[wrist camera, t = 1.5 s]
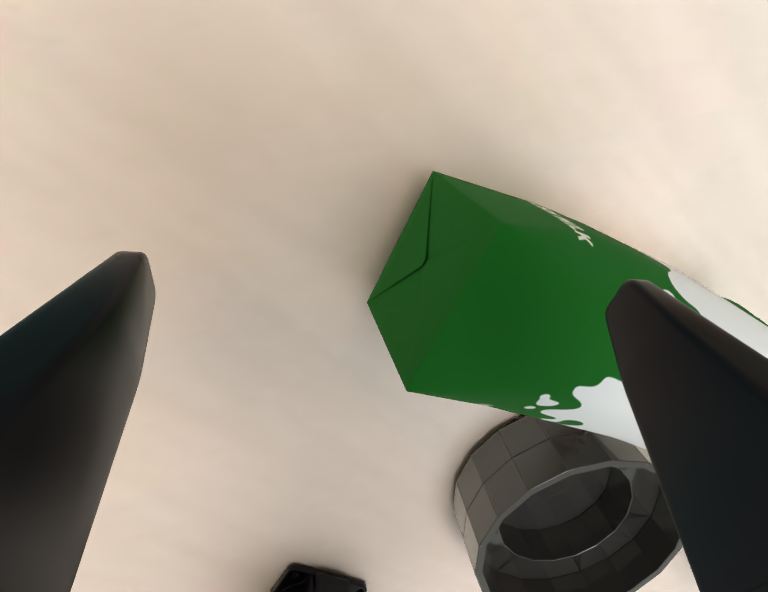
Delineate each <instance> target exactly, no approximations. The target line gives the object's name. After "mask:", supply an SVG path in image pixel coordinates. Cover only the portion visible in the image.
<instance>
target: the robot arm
mask: <svg viewBox="0 0 768 592" xmlns="http://www.w3.org/2000/svg"><path fill="white" fill-rule="evenodd" d="M154 304H155V286H154V282H153V277H152V273H151V269H150V265H149V261H148V258H147V256H146V255H145V254H144V253H142V252H128V251H120V252H117V253H115V254H114V255H112V256H111V257H109V258H108V259H107V260H105V261H104V262H103V263H101V264H100V265H98V266H97V267H96V268H94V269H93V270H91V271H90V272H89V273H87V274H86V275H84V276H83V277H82V278H80V279H79V280H77V281H76V282H75V283H73V284H72V285H70V286H69V287H68V288H66V289H65V290H63V291H62V292H61V293H59V294H58V295H56V296H55V297H54V298H52V299H51V300H49V301H48V302H47V303H45V304H44V305H42V306H41V307H40V308H38V309H37V310H35V311H34V312H33V313H31V314H30V315H28V316H27V317H26V318H24V319H23V320H22V321H20V322H19V323H17V324H16V325H15V326H13V327H12V328H10V329H9V330H8V331H6V332H5V333H3V334H2V335H1V336H0V592H70V591H71V588H72V585H73V582H74V579H75V576H76V573H77V570H78V567H79V564H80V561H81V558H82V555H83V552H84V548H85V545H86V542H87V539H88V536H89V533H90V530H91V527H92V524H93V521H94V518H95V515H96V512H97V509H98V506H99V503H100V500H101V497H102V494H103V491H104V488H105V485H106V482H107V479H108V476H109V473H110V469H111V466H112V463H113V460H114V457H115V454H116V451H117V448H118V445H119V442H120V439H121V436H122V433H123V430H124V427H125V424H126V421H127V418H128V415H129V412H130V409H131V406H132V403H133V400H134V397H135V394H136V390H137V387H138V384H139V380H140V377H141V372H142V367H143V362H144V357H145V352H146V346H147V341H148V336H149V330H150V325H151V320H152V314H153V309H154ZM605 319H606V323H607V327H608V331H609V335H610V339H611V342H612V346H613V350H614V354H615V358H616V362H617V366H618V370H619V374H620V377H621V381H622V384H623V387H624V390H625V393H626V396H627V398H628V401H629V404H630V406H631V409H632V412H633V414H634V417H635V420H636V422H637V425H638V428H639V430H640V433H641V436H642V438H643V441H644V444H645V446H646V449H647V452H648V454H649V457H650V460H651V462H652V465H653V468H654V470H655V473H656V476H657V478H658V481H659V484H660V486H661V489H662V492H663V494H664V497H665V500H666V502H667V505H668V508H669V511H670V513H671V516H672V519H673V521H674V524H675V527H676V529H677V532H678V535H679V537H680V540H681V543H682V545H683V548H684V551H685V553H686V556H687V559H688V561H689V564H690V567H691V569H692V572H693V575H694V577H695V580H696V583H697V585H698V588H699V591H700V592H768V358H766V357H765V356H763V355H762V354H760V353H759V352H757V351H756V350H754V349H753V348H751V347H749V346H748V345H746V344H745V343H743V342H742V341H740V340H739V339H737V338H736V337H734V336H733V335H731V334H730V333H728V332H727V331H725V330H724V329H722V328H720V327H719V326H717V325H716V324H714V323H713V322H711V321H710V320H708V319H707V318H705V317H704V316H702V315H701V314H699V313H698V312H696V311H695V310H693V309H691V308H690V307H688V306H687V305H685V304H684V303H682V302H681V301H679V300H678V299H676V298H675V297H673V296H672V295H670V294H669V293H667V292H666V291H664V290H662V289H661V288H659V287H658V286H656V285H655V284H653V283H652V282H650V281H647V280H637V279H630V280H627V281H625V282H624V283H623V284H622V285H621V287H620V288H619V290H618V291H617V293H616V294H615V296H614V297H613V299H612V300H611V302H610V303H609V305H608V306H607V309H606V313H605ZM366 591H367V588H366V583H365V582H362V581H359V580H355V579H351V578H347V577H343V576H339V575H335V574H331V573H327V572H323V571H319V570H316V569H312V568H308V567H304V566H300V565H290V566H289V567H288V568H287V569H286V571H285V572H284V573H283V575H282V576H281V578H280V579H279V580H278V582H277V583H276V585H275V586H274V587H273V589H272V590H271V592H366Z"/></svg>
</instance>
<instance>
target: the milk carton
mask: <svg viewBox="0 0 768 592" xmlns="http://www.w3.org/2000/svg"><path fill="white" fill-rule="evenodd" d="M630 279H637V280H647V281H650V282H652V283H653V284H655V285H656V286H658V287H659V288H661V289H662V290H664V291H666V292H667V293H669V294H670V295H672V296H673V297H675V298H676V299H678V300H679V301H681V302H682V303H684V304H685V305H687V306H688V307H690V308H691V309H693V310H695V311H696V312H698V313H699V314H701V315H702V316H704V317H705V318H707V319H708V320H710V321H711V322H713V323H714V324H716V325H717V326H719V327H720V328H722V329H724V330H725V331H727V332H728V333H730V334H731V335H733V336H734V337H736V338H737V339H739V340H740V341H742V342H743V343H745V344H746V345H748V346H749V347H751V348H753V349H754V350H756V351H757V352H759V353H760V354H762V355H763V356H765V357H766V358H768V325H767V324H766V323H764V322H763V321H762V320H760V319H759V318H757V317H755V316H754V315H753V314H752V313H750V312H749V311H748V310H746V309H745V308H743V307H742V306H740V305H739V304H737V303H735V302H733V301H731V300H729V299H726V298H723V297H721V296H719V295H718V294H716V293H714V292H712V291H711V290H709V289H707V288H706V287H704V286H702V285H701V284H699V283H698V282H696V281H694V280H693V279H691V278H690V277H688V276H686V275H685V274H683V273H681V272H680V271H678V270H676V269H674V268H672V267H670V266H668V265H666V264H664V263H662V262H660V261H658V260H656V259H654V258H652V257H650V256H648V255H646V254H644V253H642V252H640V251H638V250H636V249H634V248H632V247H630V246H628V245H626V244H623V243H621V242H619V241H617V240H615V239H613V238H611V237H609V236H607V235H605V234H603V233H601V232H599V231H597V230H595V229H593V228H591V227H589V226H587V225H585V224H583V223H580V222H578V221H576V220H573V219H571V218H568V217H566V216H564V215H561V214H559V213H557V212H555V211H552V210H550V209H547V208H545V207H542V206H540V205H537V204H534V203H531V202H528V201H525V200H522V199H519V198H516V197H512V196H509V195H506V194H503V193H500V192H497V191H494V190H491V189H488V188H485V187H481V186H478V185H475V184H472V183H469V182H466V181H463V180H460V179H456V178H453V177H450V176H447V175H444V174H441V173H438V172H435V171H433V172H432V174H431V176H430V178H429V180H428V182H427V184H426V186H425V188H424V190H423V192H422V194H421V196H420V198H419V200H418V202H417V204H416V206H415V208H414V210H413V212H412V214H411V216H410V218H409V220H408V222H407V224H406V226H405V228H404V230H403V232H402V234H401V236H400V238H399V240H398V242H397V244H396V246H395V248H394V250H393V252H392V254H391V256H390V258H389V260H388V262H387V264H386V266H385V268H384V270H383V272H382V274H381V275H380V277H379V279H378V281H377V283H376V285H375V287H374V289H373V291H372V293H371V295H370V297H369V299H368V301H367V304H368V306H369V308H370V310H371V313H372V315H373V317H374V319H375V321H376V324H377V326H378V328H379V330H380V333H381V335H382V337H383V339H384V342H385V344H386V346H387V348H388V351H389V353H390V355H391V357H392V359H393V362H394V364H395V366H396V368H397V371H398V373H399V375H400V377H401V380H402V382H403V384H404V386H405V388H406V391H408V392H414V393H420V394H425V395H431V396H436V397H442V398H447V399H453V400H458V401H464V402H469V403H475V404H480V405H486V406H490V407H494V408H498V409H502V410H506V411H510V412H514V413H518V414H522V415H526V416H530V417H534V418H538V419H542V420H546V421H550V422H554V423H558V424H562V425H566V426H570V427H574V428H578V429H582V430H586V431H590V432H594V433H598V434H602V435H606V436H610V437H613V438H616V439H619V440H622V441H625V442H627V443H630V444H633V445H635V446H638V447H641V448H643V449H646V446H645V444H644V441H643V438H642V436H641V433H640V430H639V428H638V425H637V422H636V420H635V417H634V414H633V412H632V409H631V406H630V404H629V401H628V398H627V396H626V393H625V390H624V387H623V384H622V381H621V377H620V374H619V370H618V366H617V362H616V358H615V354H614V350H613V346H612V342H611V339H610V335H609V331H608V327H607V323H606V319H605V313H606V309H607V306H608V305H609V303H610V302H611V300H612V299H613V297H614V296H615V294H616V293H617V291H618V290H619V288H620V287H621V285H622V284H623V283H624V282H625V281H627V280H630ZM646 450H647V449H646Z"/></svg>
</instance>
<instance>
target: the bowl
mask: <svg viewBox="0 0 768 592" xmlns="http://www.w3.org/2000/svg"><path fill="white" fill-rule="evenodd" d="M453 509H454V512H455V515H456V518H457V521H458V524H459V527H460V530H461V533H462V536H463V539H464V542H465V545H466V548H467V552H468V555H469V558H470V561H471V564H472V567H473V570H474V573H475V575H476V578H477V580H478V583H479V585H480V588H481V590H482V592H635V591H637V590H638V589H639V588H641V587H642V586H643V585H645V584H646V583H648V582H649V581H650V580H652V579H653V578H654V577H656V576H657V575H658V574H660V573H661V572H662V571H663V569H664V568H665V567H666V566H667V565H668V564H669V562H670V561H671V560H672V559H673V558H674V557H675V555H676V554H677V553H678V552H679V551H680V549H681V548H682V546H683V545H682V543H681V540H680V537H679V535H678V532H677V529H676V527H675V524H674V521H673V519H672V516H671V513H670V511H669V508H668V505H667V502H666V500H665V497H664V494H663V492H662V489H661V486H660V484H659V481H658V478H657V476H656V473H655V470H654V468H653V465H652V462H651V460H650V457H649V454H648V452H647V450H646V449H643V448H641V447H638V446H635V445H633V444H630V443H627V442H625V441H622V440H619V439H616V438H613V437H610V436H606V435H602V434H598V433H594V432H590V431H586V430H582V429H578V428H574V427H570V426H566V425H562V424H558V423H554V422H550V421H546V420H542V419H538V418H534V417H530V416H525V417H523V418H521V419H519V420H517V421H515V422H513V423H511V424H509V425H507V426H505V427H503V428H501V429H499V430H498V431H496V432H495V433H494V434H493V435H492V436H491V437H490V438H489V439H488V440H487V441H486V442H484V443H483V444H482V445H481V446H480V447H479V448H478V449H477V450H476V451H475V452H474V453H473V454H472V455H471V456H470V458H469V460H468V461H467V463H466V465H465V467H464V468H463V470H462V472H461V474H460V476H459V477H458V479H457V481H456V487H455V496H454V505H453Z"/></svg>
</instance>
